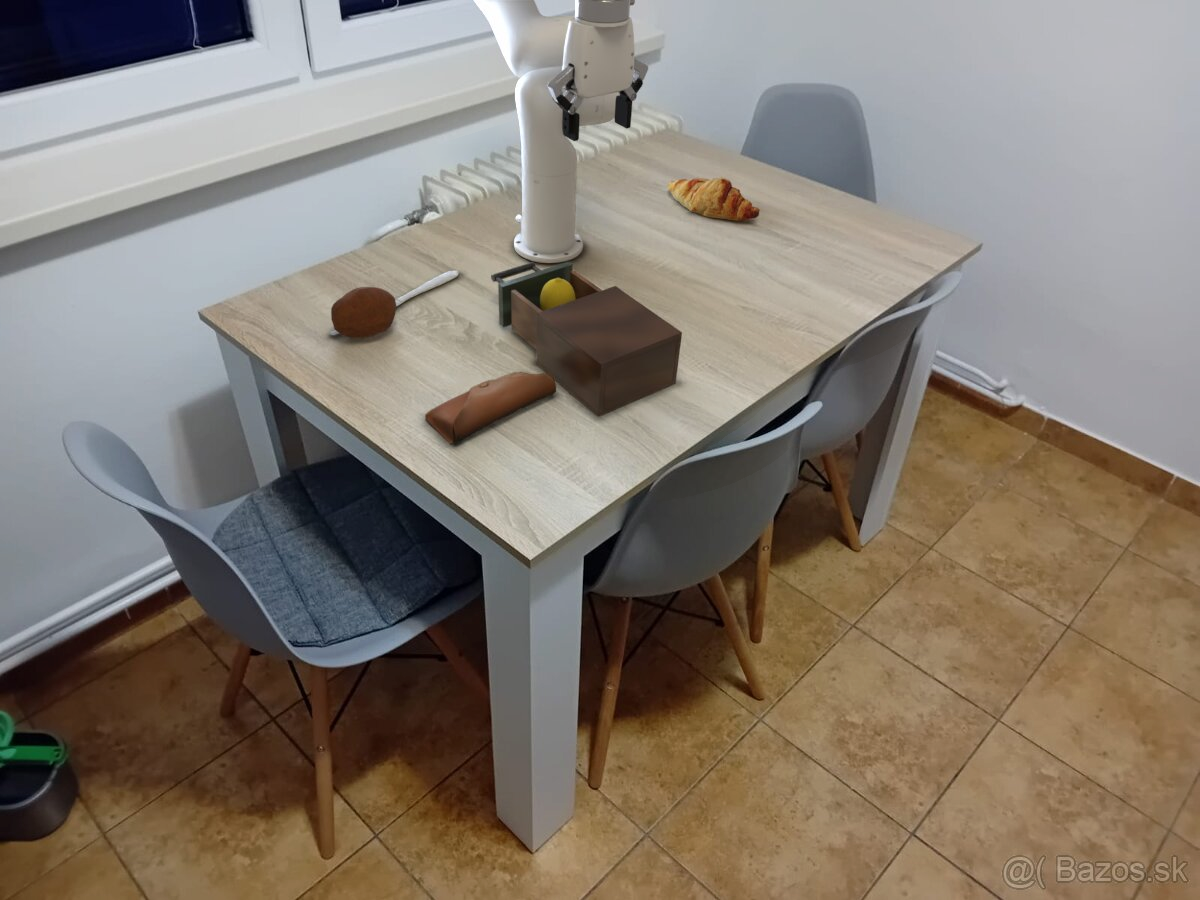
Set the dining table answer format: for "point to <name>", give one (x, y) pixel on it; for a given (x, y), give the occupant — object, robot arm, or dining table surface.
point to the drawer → (533, 295)
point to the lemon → (556, 294)
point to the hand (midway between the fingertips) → (596, 131)
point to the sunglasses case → (488, 404)
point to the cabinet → (607, 349)
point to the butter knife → (422, 288)
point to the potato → (363, 312)
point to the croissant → (713, 198)
